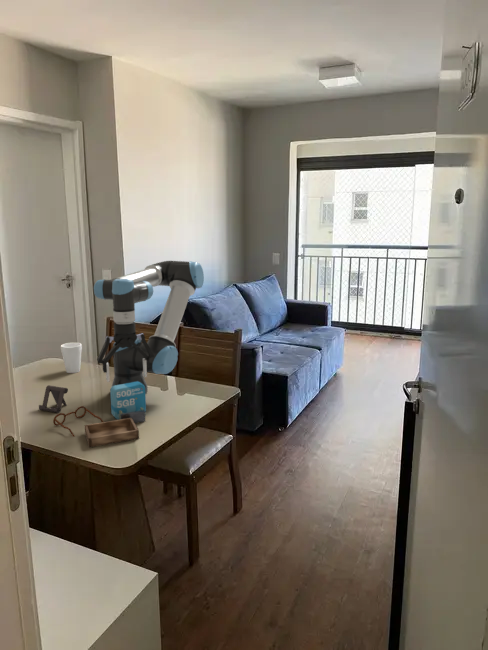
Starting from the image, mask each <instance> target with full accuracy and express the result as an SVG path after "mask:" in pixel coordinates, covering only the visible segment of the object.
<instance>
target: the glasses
mask: <svg viewBox="0 0 488 650" xmlns="http://www.w3.org/2000/svg"><path fill="white" fill-rule="evenodd" d="M81 409H84V413H83V414H81V415H80V416H77V412H78V411H80V410H81ZM87 413H89V414H90V415H91V416H93V417H94V418H96V419H98V420H99V421H100V423H101V422H105V421H104V420H103V418H101V417H100V416H99V415H96V414H94V413H93V412H91V410H89V409H88V408H87V407H86V406H84V405H81V406H79V407H77V408H76V409H75V411H71V412H67V413H63V412H60V413H56V414H55V416H54V417H53V420H52V423H53V425H54V426H56V427H57V426H60V427H62V428H63V429H66V430H68V431H69V432H70V434H71V436H72V437H76V436H75V434H74V432H73V431H72V429H71V428H69V427H67V426H65V425H64V423H65V421H66V420H67V419H66V417H67V416H69V415H73V414H74V417H75V418H76V419H80V418H83V417H84V416H86V414H87ZM59 416H63V420H62V421H61V422H60V421H59V420H58V419H57V417H59Z"/></svg>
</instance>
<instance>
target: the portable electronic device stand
mask: <svg viewBox="0 0 488 650" xmlns="http://www.w3.org/2000/svg"><path fill="white" fill-rule="evenodd" d="M50 392H51V395H52V397H53V399H54V401H55V403H56V407H53V406H50V407H47V405H48V403H49V397H50ZM68 392H69V389H68V388H67V387H62V386H54V385H47V386H46V387H45V392H44V396H43V401H42V404H39V405H38V410H40V411H43V412H44V411H45V412H49V413H50V412H51V413H56V414H59V413H61V410H62V406H63V407H64V406H66V407H67V402H66V400H65V398H64V396H65V394H67V393H68Z"/></svg>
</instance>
